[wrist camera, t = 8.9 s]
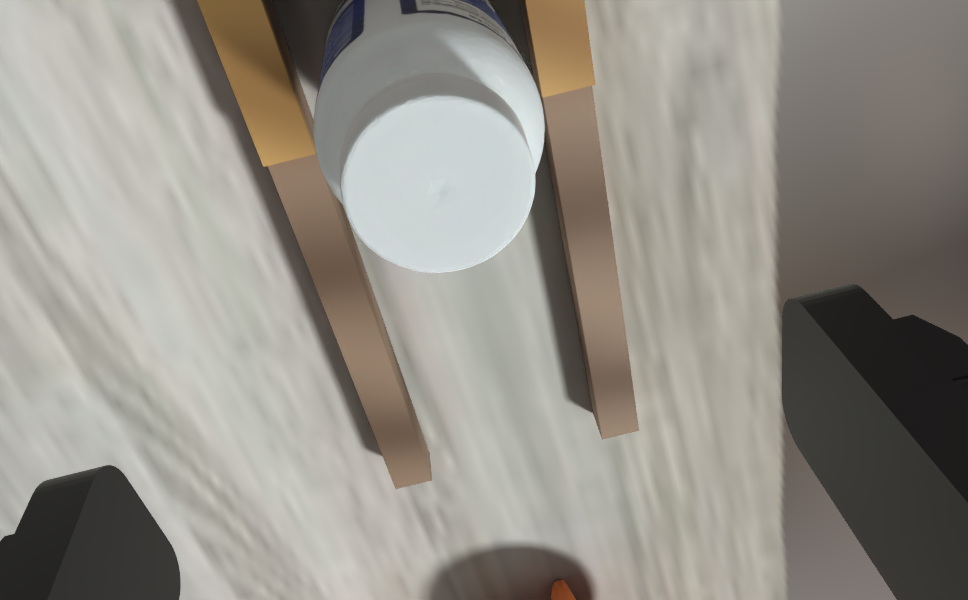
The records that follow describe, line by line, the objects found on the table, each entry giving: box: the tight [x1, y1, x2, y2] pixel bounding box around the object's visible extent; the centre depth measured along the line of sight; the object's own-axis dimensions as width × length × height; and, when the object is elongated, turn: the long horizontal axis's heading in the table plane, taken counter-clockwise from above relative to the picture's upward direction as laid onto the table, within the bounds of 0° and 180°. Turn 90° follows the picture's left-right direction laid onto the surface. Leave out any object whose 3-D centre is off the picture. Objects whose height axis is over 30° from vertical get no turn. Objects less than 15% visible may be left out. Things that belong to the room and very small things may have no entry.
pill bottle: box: [314, 0, 545, 273], centre depth 20 cm, size 5×5×10 cm
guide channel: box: [197, 0, 639, 489], centre depth 26 cm, size 22×10×2 cm, turn 12°
